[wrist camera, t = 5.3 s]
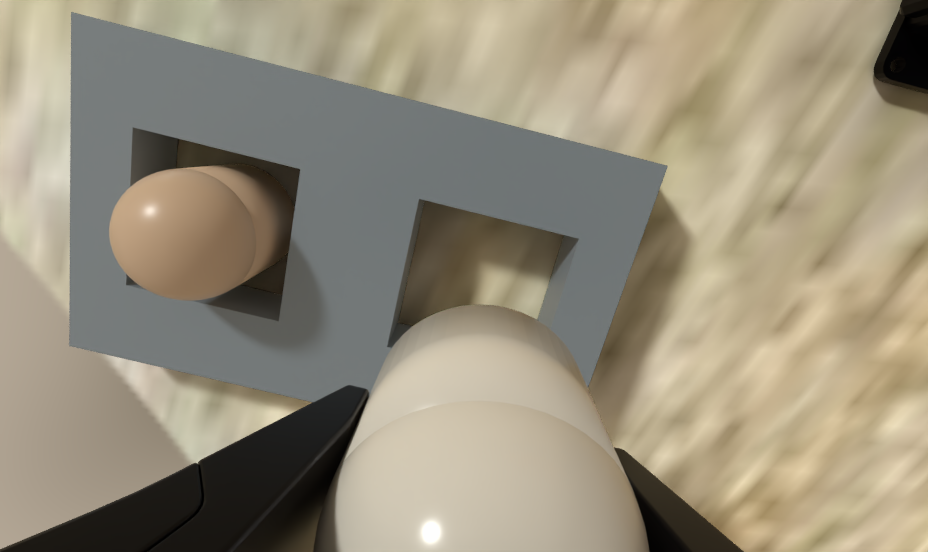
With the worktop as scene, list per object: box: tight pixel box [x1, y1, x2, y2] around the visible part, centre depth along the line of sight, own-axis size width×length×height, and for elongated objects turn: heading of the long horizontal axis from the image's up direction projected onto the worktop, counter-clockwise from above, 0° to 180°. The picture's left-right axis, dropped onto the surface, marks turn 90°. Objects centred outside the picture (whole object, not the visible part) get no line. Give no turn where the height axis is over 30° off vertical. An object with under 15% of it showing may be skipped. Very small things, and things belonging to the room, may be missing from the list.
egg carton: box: [69, 12, 668, 402], centre depth 16 cm, size 20×12×6 cm, turn 76°
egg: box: [313, 305, 649, 552], centre depth 7 cm, size 4×4×6 cm
